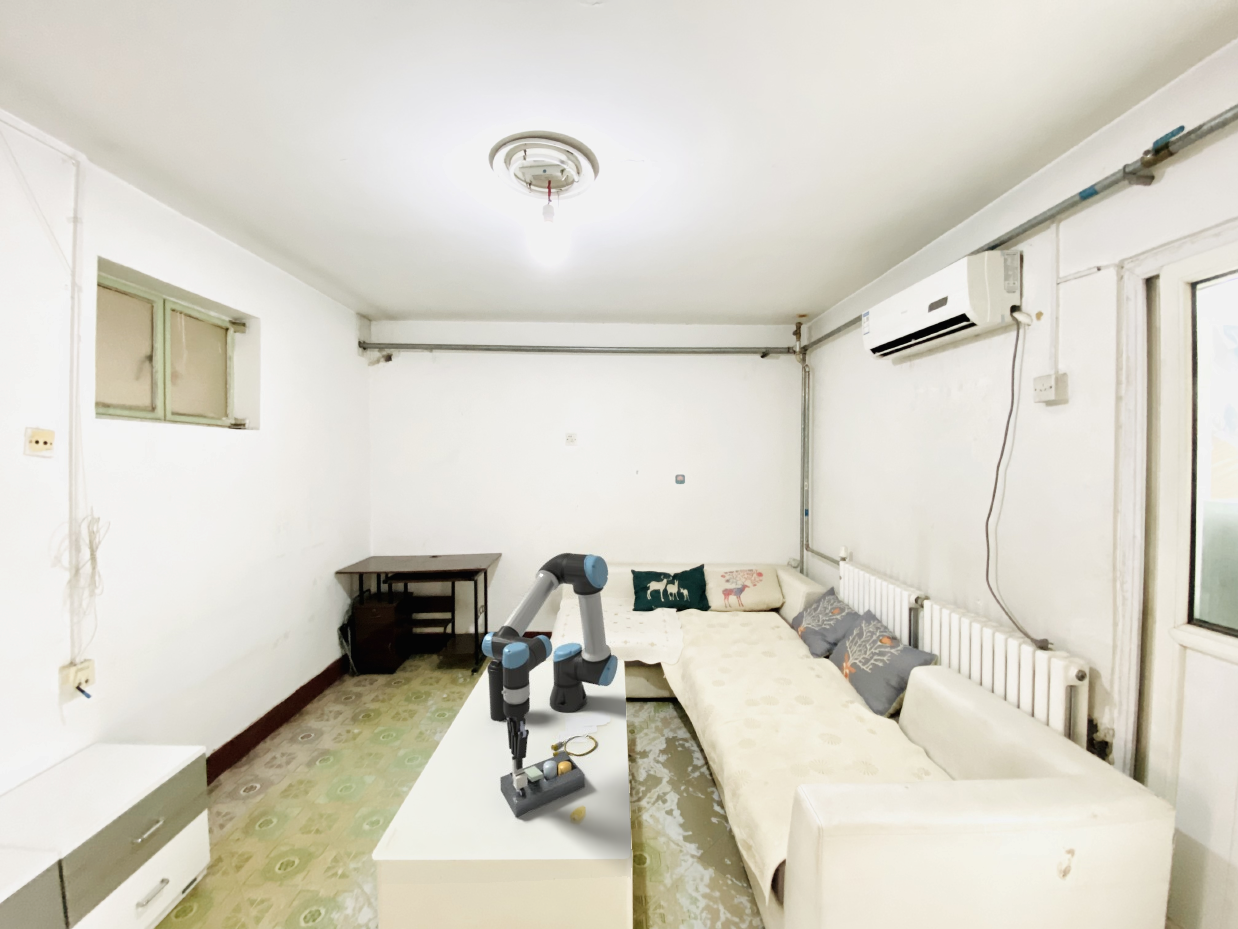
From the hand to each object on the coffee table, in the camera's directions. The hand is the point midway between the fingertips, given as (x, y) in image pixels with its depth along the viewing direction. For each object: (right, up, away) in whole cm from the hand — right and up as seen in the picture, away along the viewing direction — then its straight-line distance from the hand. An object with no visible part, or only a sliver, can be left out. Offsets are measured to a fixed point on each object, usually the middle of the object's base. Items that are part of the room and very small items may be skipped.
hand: (517, 777), depth 140 cm
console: (+7, -7, +5) cm, 11 cm away
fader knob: (+1, -1, -2) cm, 2 cm away
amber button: (+13, -6, +9) cm, 17 cm away
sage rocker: (+4, -1, +3) cm, 5 cm away
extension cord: (+14, -7, +26) cm, 30 cm away
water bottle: (-16, -6, +46) cm, 49 cm away
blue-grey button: (+9, -4, +6) cm, 12 cm away
